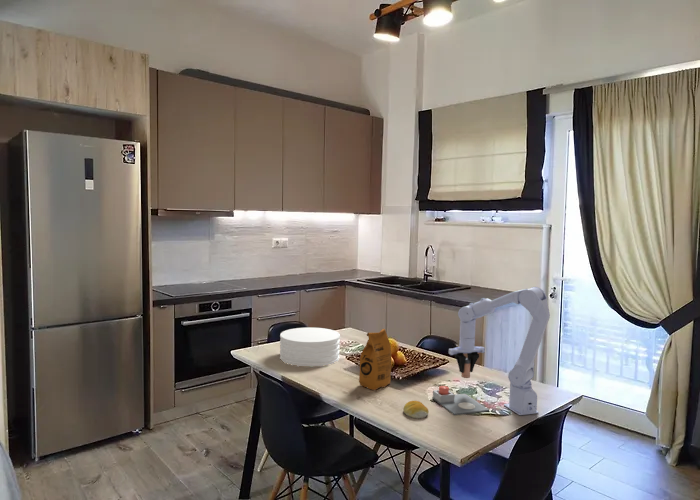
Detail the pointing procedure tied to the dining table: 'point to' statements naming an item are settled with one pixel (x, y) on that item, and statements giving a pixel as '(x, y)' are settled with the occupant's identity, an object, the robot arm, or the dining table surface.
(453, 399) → the board
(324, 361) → the plate stack
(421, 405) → the bread roll
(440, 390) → the button
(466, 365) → the spice jar
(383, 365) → the coffee package
